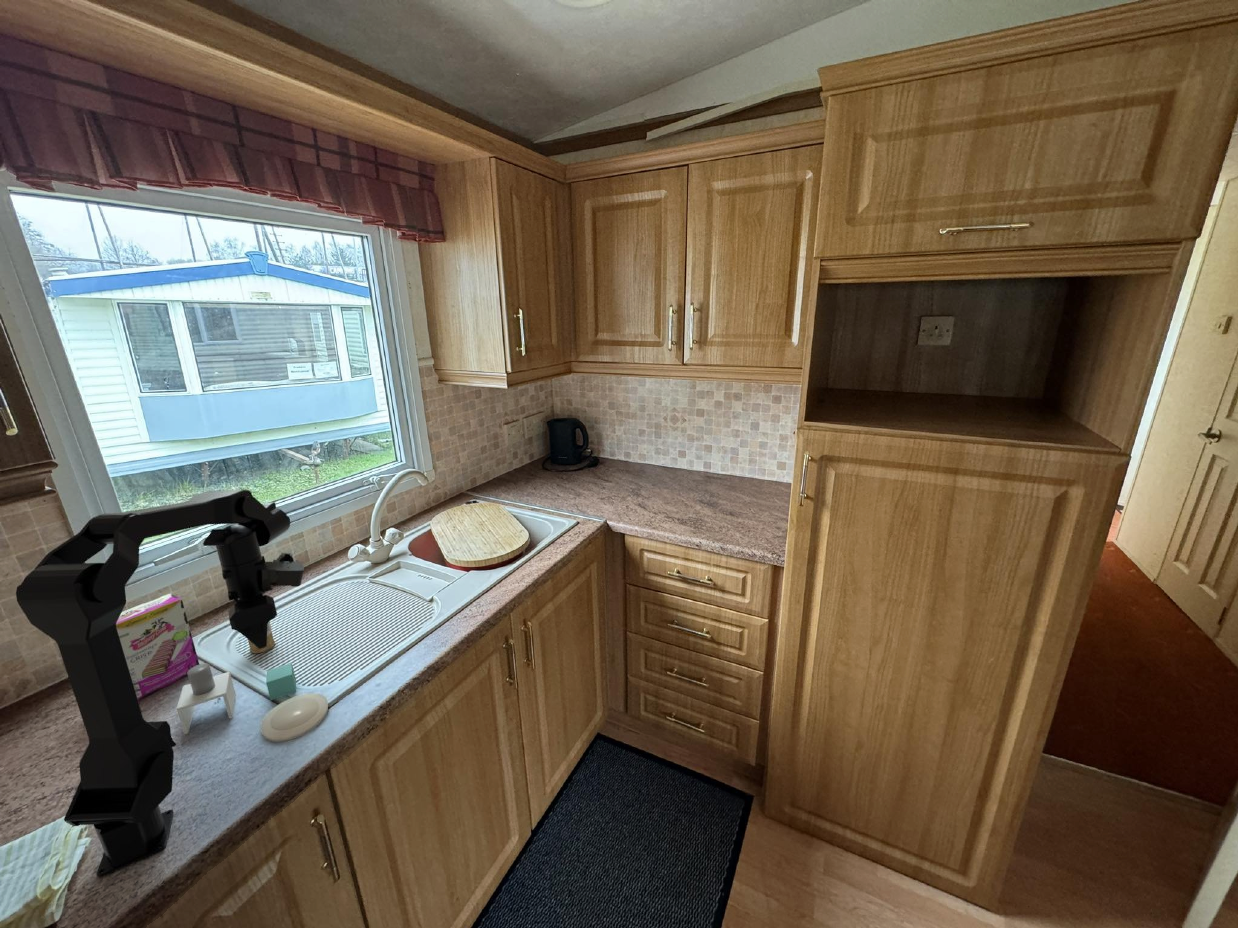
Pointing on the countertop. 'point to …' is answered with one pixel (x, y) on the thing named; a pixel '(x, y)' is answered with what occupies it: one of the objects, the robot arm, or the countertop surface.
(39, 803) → the countertop surface
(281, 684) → the block
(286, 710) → the saucer
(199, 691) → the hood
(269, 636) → the sprinkles bottle
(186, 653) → the candy bar box
